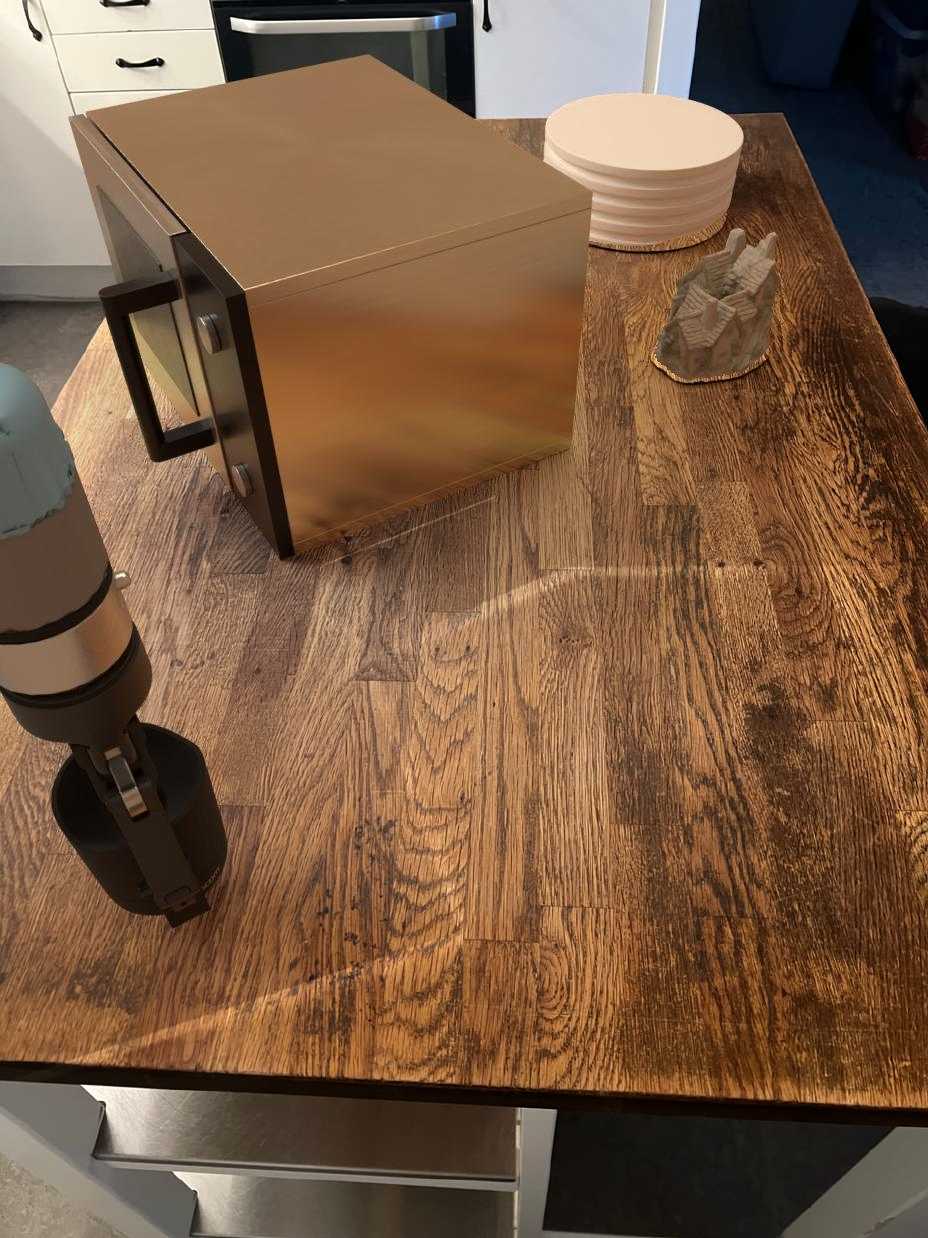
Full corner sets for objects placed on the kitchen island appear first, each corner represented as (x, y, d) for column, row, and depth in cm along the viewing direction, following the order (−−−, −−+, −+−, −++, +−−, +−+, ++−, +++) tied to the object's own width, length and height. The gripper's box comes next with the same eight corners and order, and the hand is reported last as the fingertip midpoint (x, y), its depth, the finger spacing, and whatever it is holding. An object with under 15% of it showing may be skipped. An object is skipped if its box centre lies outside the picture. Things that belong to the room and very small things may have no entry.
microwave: (273, 564, 93) (214, 298, 73) (133, 355, 119) (61, 115, 99) (571, 447, 106) (593, 191, 85) (386, 281, 131) (368, 53, 111)
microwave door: (171, 513, 99) (91, 254, 78) (85, 368, 117) (3, 129, 97) (245, 486, 101) (186, 230, 81) (150, 349, 120) (83, 113, 100)
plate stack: (742, 253, 136) (761, 170, 127) (544, 251, 136) (550, 168, 127) (710, 170, 155) (725, 93, 146) (536, 168, 155) (541, 91, 146)
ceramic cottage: (723, 300, 126) (741, 188, 115) (792, 369, 116) (820, 253, 105) (615, 329, 123) (623, 218, 112) (677, 402, 113) (693, 288, 102)
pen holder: (103, 943, 63) (54, 868, 56) (93, 824, 69) (47, 743, 62) (245, 899, 65) (215, 821, 58) (223, 788, 71) (193, 705, 64)
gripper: (203, 761, 46) (277, 961, 62) (78, 507, 58) (167, 729, 75) (44, 834, 43) (165, 1022, 59) (-51, 551, 56) (71, 771, 72)
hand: (166, 859), depth 67 cm, fingers closed on pen holder, 9 cm apart
